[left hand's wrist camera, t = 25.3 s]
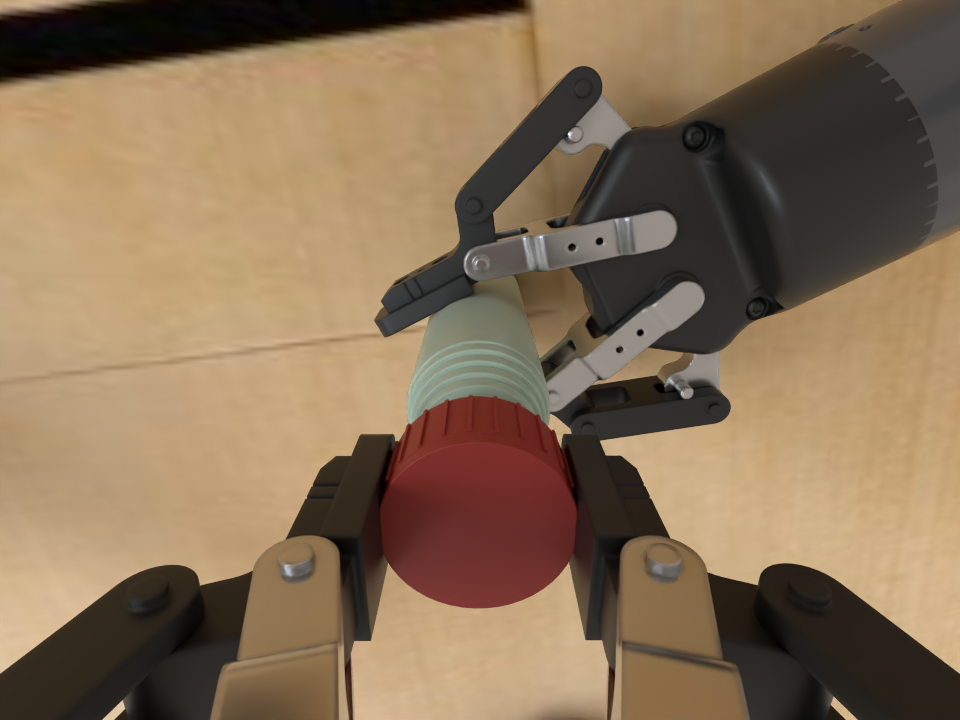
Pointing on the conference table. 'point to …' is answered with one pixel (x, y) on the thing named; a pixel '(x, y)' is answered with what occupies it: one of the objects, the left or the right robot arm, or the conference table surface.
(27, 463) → the conference table surface
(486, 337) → the bottle
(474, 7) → the conference table surface
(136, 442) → the conference table surface
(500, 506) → the cap
